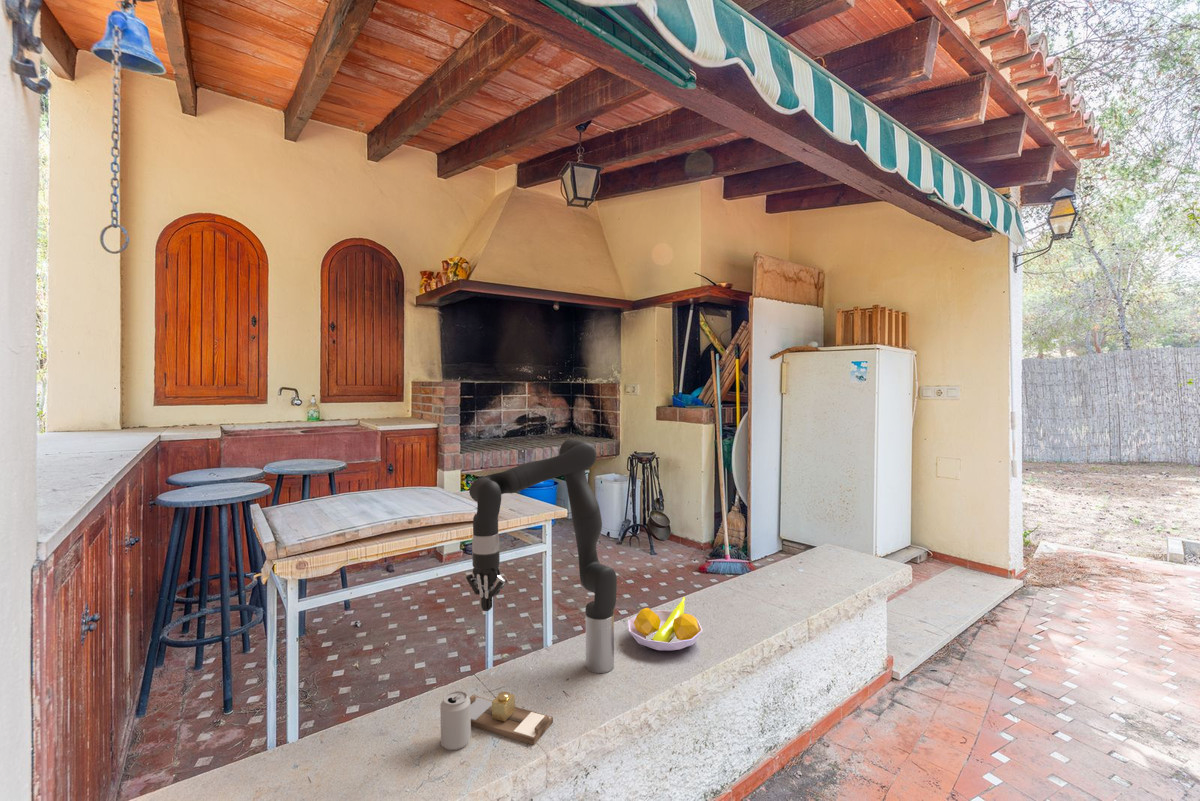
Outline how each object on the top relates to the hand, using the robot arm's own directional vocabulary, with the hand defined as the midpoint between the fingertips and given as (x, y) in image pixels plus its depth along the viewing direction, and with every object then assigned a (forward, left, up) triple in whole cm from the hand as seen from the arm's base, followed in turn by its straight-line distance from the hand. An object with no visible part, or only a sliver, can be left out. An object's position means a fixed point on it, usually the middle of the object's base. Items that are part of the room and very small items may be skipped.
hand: (486, 609), depth 152 cm
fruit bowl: (-59, +35, -28) cm, 74 cm away
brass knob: (+4, +8, -26) cm, 27 cm away
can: (+16, +1, -28) cm, 32 cm away
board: (+4, +8, -28) cm, 29 cm away
